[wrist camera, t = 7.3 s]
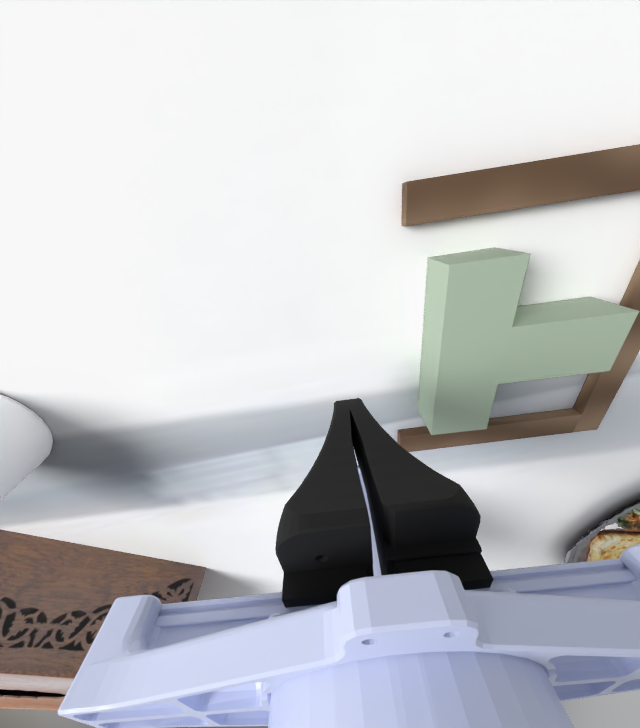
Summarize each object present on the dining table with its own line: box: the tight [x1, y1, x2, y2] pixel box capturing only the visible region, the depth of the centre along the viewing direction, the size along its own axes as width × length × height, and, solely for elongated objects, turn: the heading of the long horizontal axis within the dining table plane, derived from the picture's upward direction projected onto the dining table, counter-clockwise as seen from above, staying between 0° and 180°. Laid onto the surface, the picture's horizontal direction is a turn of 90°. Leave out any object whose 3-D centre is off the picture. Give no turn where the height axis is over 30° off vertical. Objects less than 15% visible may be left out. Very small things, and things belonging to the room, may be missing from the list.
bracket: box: [398, 144, 640, 452], centre depth 18 cm, size 20×17×1 cm
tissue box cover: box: [0, 530, 206, 711], centre depth 29 cm, size 26×14×10 cm, turn 63°
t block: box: [418, 248, 639, 435], centre depth 17 cm, size 12×11×3 cm
